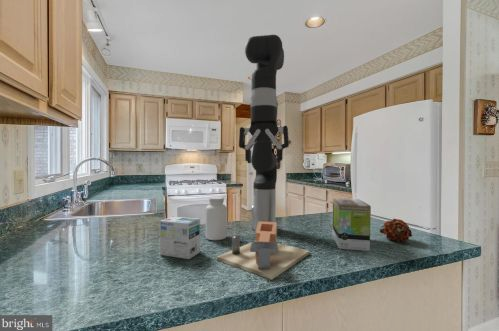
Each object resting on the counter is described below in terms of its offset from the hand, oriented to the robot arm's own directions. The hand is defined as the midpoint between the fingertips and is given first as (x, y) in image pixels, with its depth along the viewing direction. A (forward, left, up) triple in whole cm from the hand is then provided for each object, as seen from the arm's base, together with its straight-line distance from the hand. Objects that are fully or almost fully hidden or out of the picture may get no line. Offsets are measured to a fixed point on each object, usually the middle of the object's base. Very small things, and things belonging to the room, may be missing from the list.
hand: (263, 163), depth 70 cm
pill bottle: (-26, +6, -28) cm, 39 cm away
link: (-1, +2, -24) cm, 24 cm away
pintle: (-8, -3, -28) cm, 29 cm away
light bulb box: (-23, -12, -28) cm, 39 cm away
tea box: (+15, +31, -28) cm, 45 cm away
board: (-1, +2, -28) cm, 28 cm away
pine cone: (+27, +44, -28) cm, 59 cm away
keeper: (+4, -5, -27) cm, 28 cm away
